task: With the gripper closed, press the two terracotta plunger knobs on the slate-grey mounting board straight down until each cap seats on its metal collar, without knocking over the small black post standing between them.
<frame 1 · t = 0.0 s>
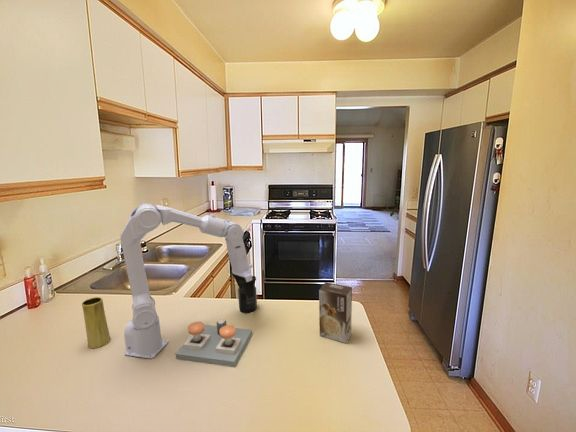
hand: (246, 292, 100), 11 cm above the counter, tool pointing down, fingers open, 7 cm apart
vase: (99, 342, 91), on the counter
supplement bottle: (248, 309, 109), on the counter
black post: (222, 332, 92), point 2 cm above the counter, touching mount board
coffee box: (335, 335, 92), on the counter
knob b: (228, 336, 84), point 5 cm above the counter, slide at 0.0 cm
knob a: (196, 332, 86), point 5 cm above the counter, slide at 0.0 cm
mount board: (216, 345, 88), on the counter
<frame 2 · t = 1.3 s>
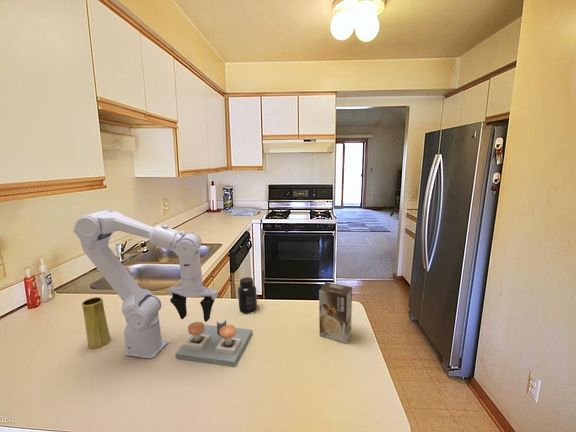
hand: (195, 318, 85), 10 cm above the counter, tool pointing down, fingers open, 7 cm apart
nothing on the counter moved.
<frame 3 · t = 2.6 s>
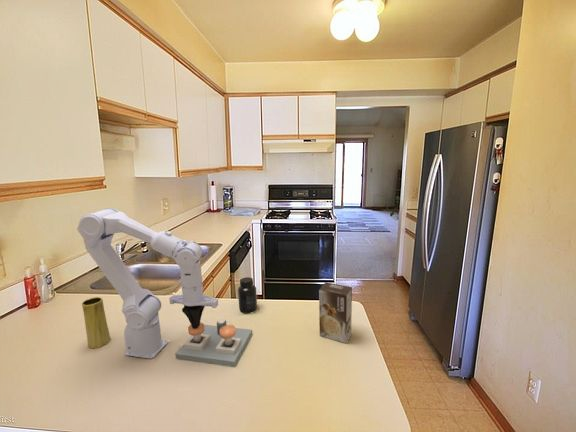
hand: (196, 326, 86), 7 cm above the counter, tool pointing down, fingers closed, pressing on knob a
knob a: (196, 333, 86), point 5 cm above the counter, slide at 0.2 cm, touching gripper
everything else where it was.
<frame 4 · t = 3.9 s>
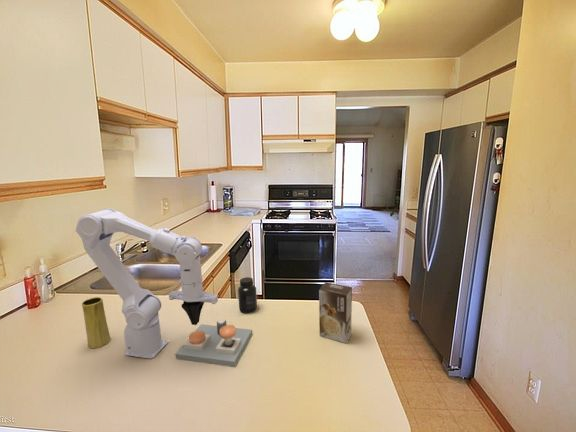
hand: (195, 323, 85), 8 cm above the counter, tool pointing down, fingers closed
knob a: (197, 341, 87), point 2 cm above the counter, slide at 3.0 cm
everything else where it was.
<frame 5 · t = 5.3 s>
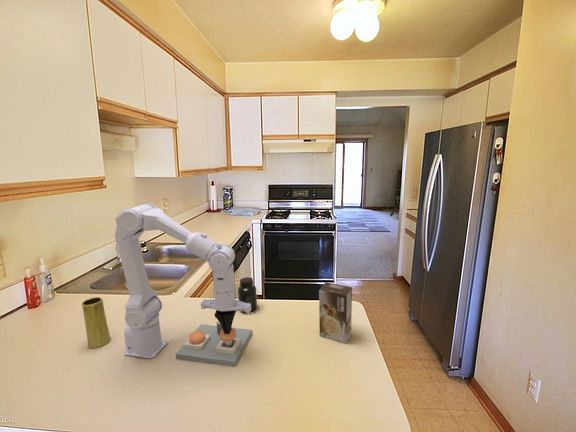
hand: (227, 332, 84), 7 cm above the counter, tool pointing down, fingers closed, pressing on knob b
knob b: (228, 338, 84), point 4 cm above the counter, slide at 0.8 cm, touching gripper
everything else where it was.
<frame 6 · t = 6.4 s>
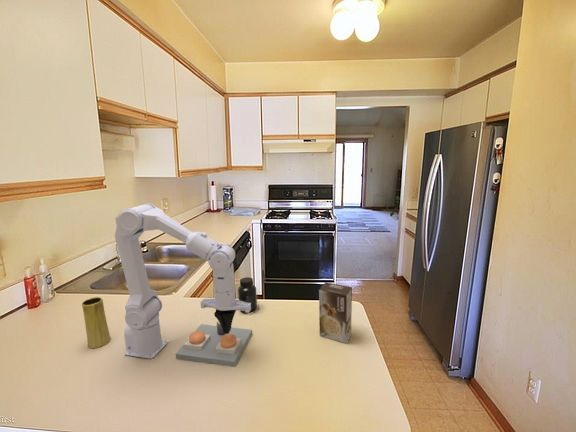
hand: (227, 331, 84), 7 cm above the counter, tool pointing down, fingers closed
knob b: (228, 345, 85), point 2 cm above the counter, slide at 3.0 cm
everything else where it was.
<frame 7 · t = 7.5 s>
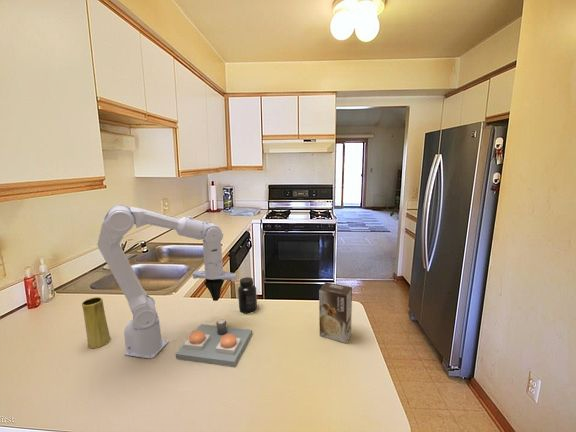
hand: (216, 299, 95), 10 cm above the counter, tool pointing down, fingers closed
nothing on the counter moved.
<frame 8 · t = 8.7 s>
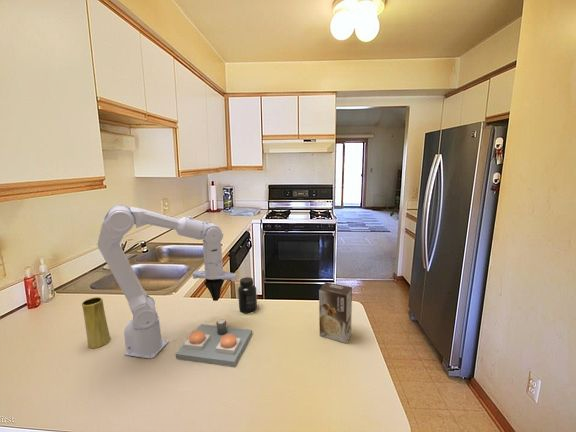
hand: (216, 299, 95), 10 cm above the counter, tool pointing down, fingers closed
nothing on the counter moved.
at the end: knob a slide at 3.0 cm; knob b slide at 3.0 cm; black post tilted 0° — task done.
